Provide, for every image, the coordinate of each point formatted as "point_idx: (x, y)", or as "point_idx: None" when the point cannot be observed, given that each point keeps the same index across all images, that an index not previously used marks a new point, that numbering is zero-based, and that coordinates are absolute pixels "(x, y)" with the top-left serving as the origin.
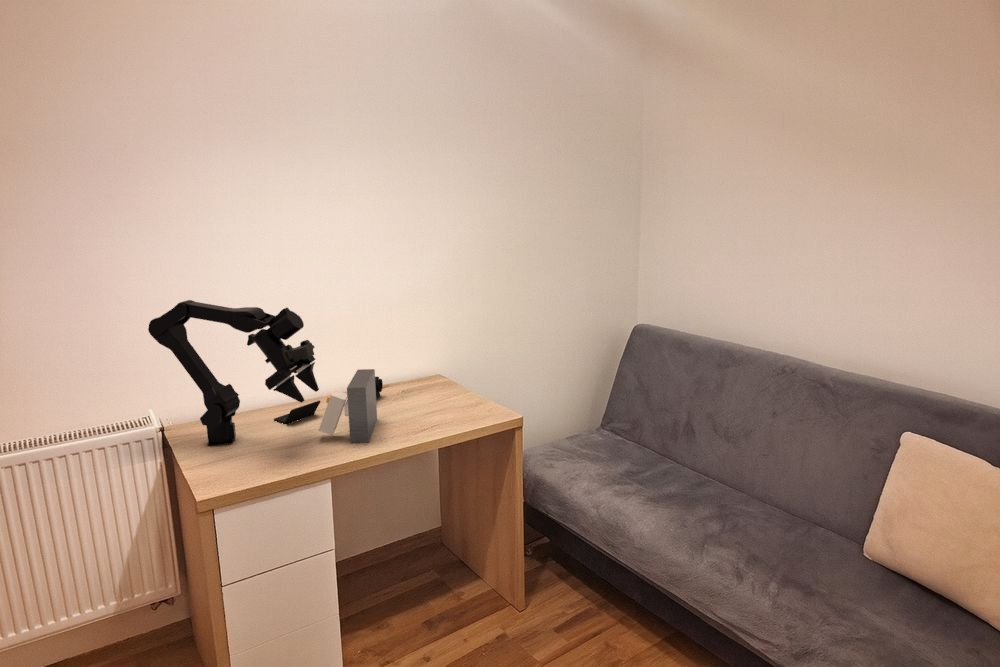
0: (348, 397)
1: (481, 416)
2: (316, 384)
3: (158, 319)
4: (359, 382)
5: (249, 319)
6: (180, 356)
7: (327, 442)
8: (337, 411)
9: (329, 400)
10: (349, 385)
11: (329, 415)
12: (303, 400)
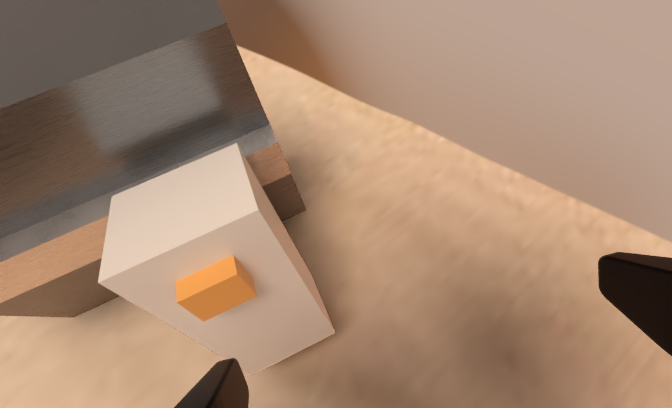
0: (251, 82)
1: None
2: (194, 404)
3: None
4: (50, 24)
5: None
6: None
7: (326, 296)
8: (276, 217)
9: (274, 237)
10: (151, 42)
11: (299, 265)
12: (620, 255)
